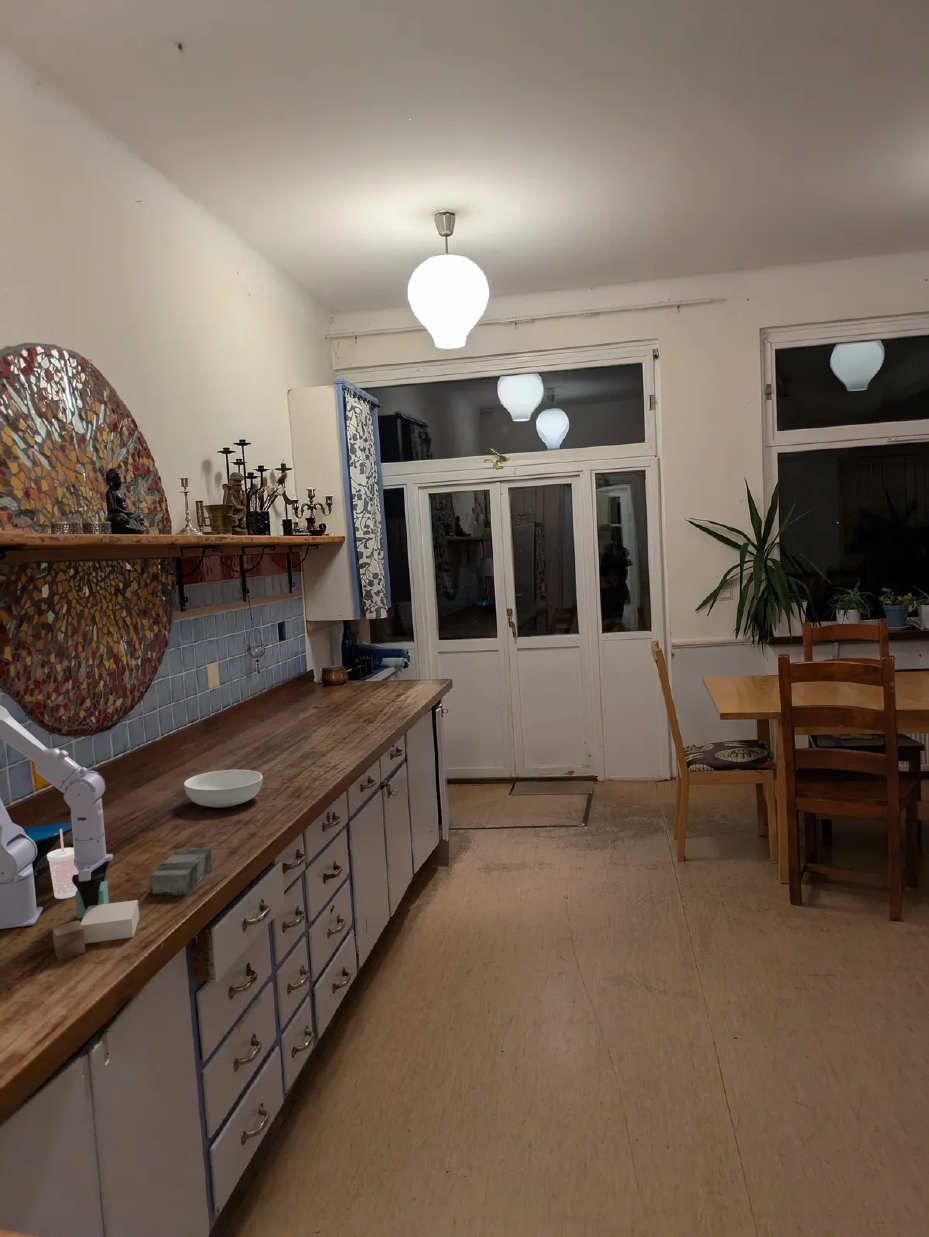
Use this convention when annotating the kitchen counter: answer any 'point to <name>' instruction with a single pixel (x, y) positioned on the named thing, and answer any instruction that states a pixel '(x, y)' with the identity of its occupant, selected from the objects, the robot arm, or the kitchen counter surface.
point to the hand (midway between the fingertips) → (94, 903)
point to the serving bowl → (223, 787)
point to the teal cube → (102, 899)
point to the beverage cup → (62, 870)
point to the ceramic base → (110, 921)
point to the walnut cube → (68, 939)
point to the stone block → (181, 872)
